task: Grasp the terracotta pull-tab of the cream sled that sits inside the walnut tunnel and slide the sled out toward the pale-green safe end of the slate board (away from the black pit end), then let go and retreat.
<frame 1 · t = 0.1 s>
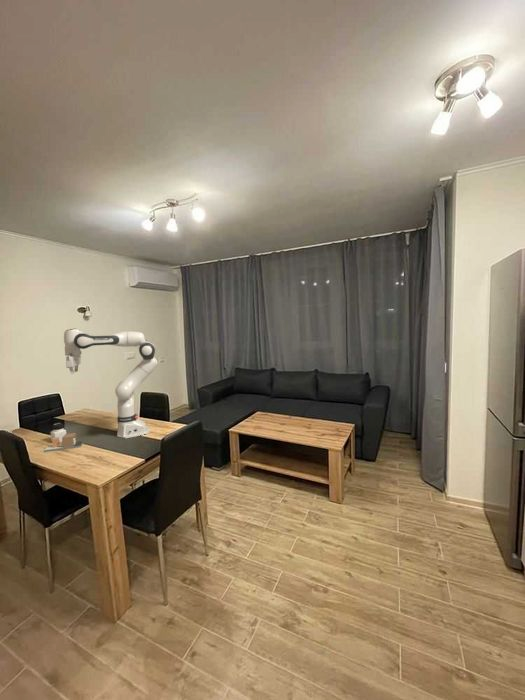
hand: (74, 372, 197), 48 cm above the table, fingers open, 8 cm apart
sled: (64, 441, 190), point 4 cm above the table, slide at 0.0 cm
medicine bottle: (59, 441, 201), on the table
tunnel board: (64, 447, 190), on the table
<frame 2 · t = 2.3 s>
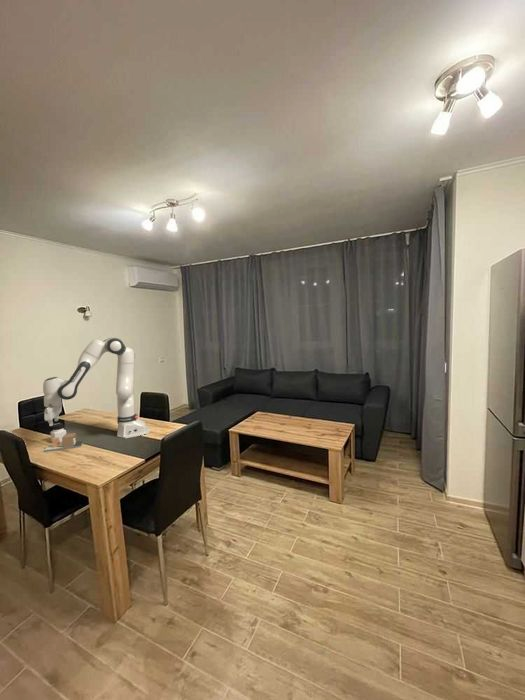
hand: (53, 423, 187), 17 cm above the table, fingers open, 8 cm apart
nothing on the table moved.
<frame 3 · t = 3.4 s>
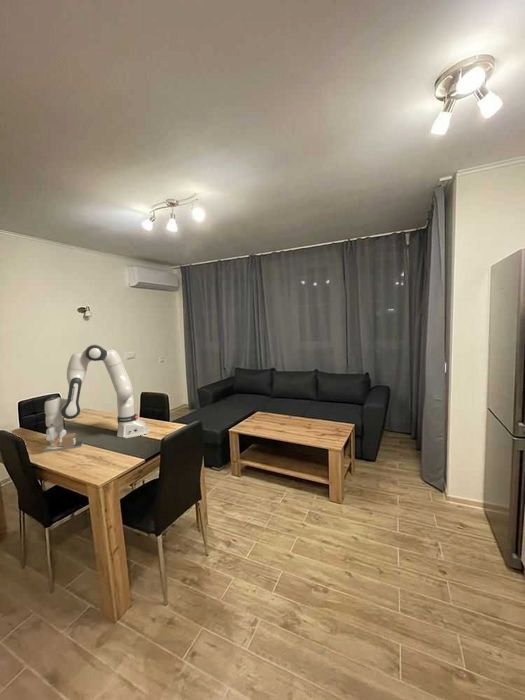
hand: (55, 442, 188), 4 cm above the table, fingers open, 8 cm apart
nothing on the table moved.
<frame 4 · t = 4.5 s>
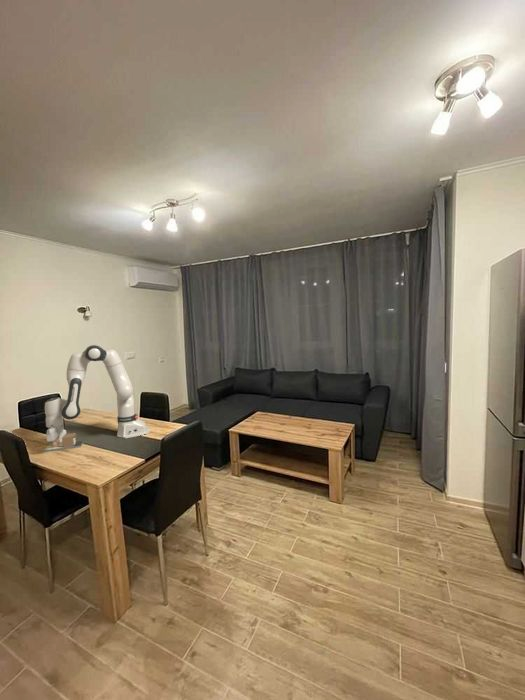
hand: (56, 443, 188), 3 cm above the table, fingers closed on sled, 3 cm apart
sled: (64, 441, 190), point 4 cm above the table, slide at 0.0 cm, touching gripper
everything else where it was.
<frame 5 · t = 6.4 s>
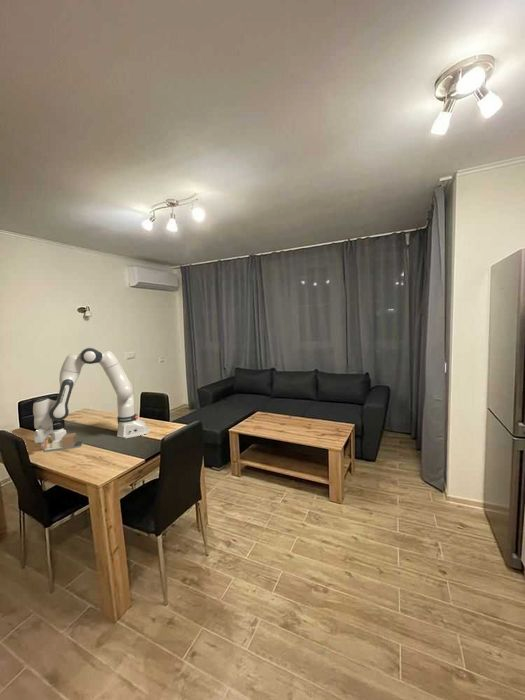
hand: (44, 444, 186), 3 cm above the table, fingers closed on sled, 3 cm apart
sled: (52, 442, 188), point 4 cm above the table, slide at 6.2 cm, touching gripper
everything else where it was.
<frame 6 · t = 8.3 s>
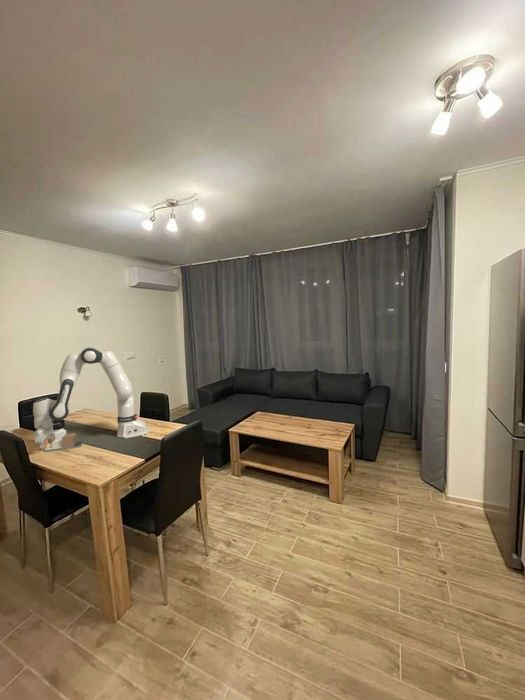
hand: (45, 444, 186), 4 cm above the table, fingers open, 8 cm apart
sled: (52, 442, 188), point 4 cm above the table, slide at 6.3 cm
everything else where it was.
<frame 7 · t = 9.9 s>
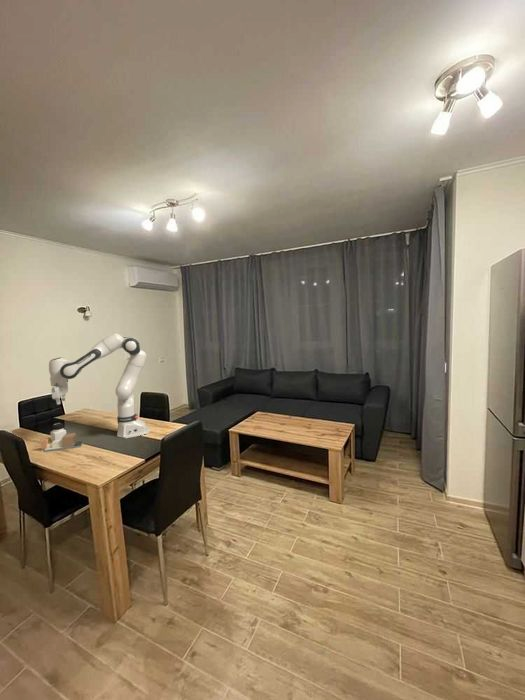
hand: (61, 402, 193), 29 cm above the table, fingers open, 8 cm apart
nothing on the table moved.
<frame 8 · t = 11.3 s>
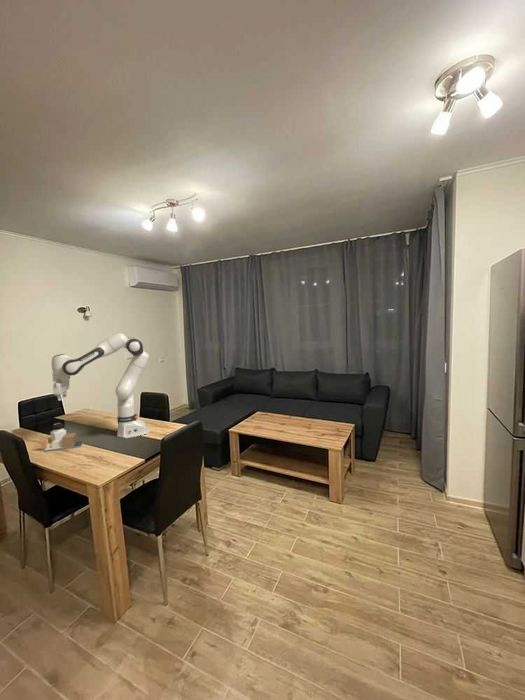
hand: (62, 398, 193), 31 cm above the table, fingers open, 8 cm apart
nothing on the table moved.
at the end: sled slide at 6.3 cm; the gripper is holding nothing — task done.
